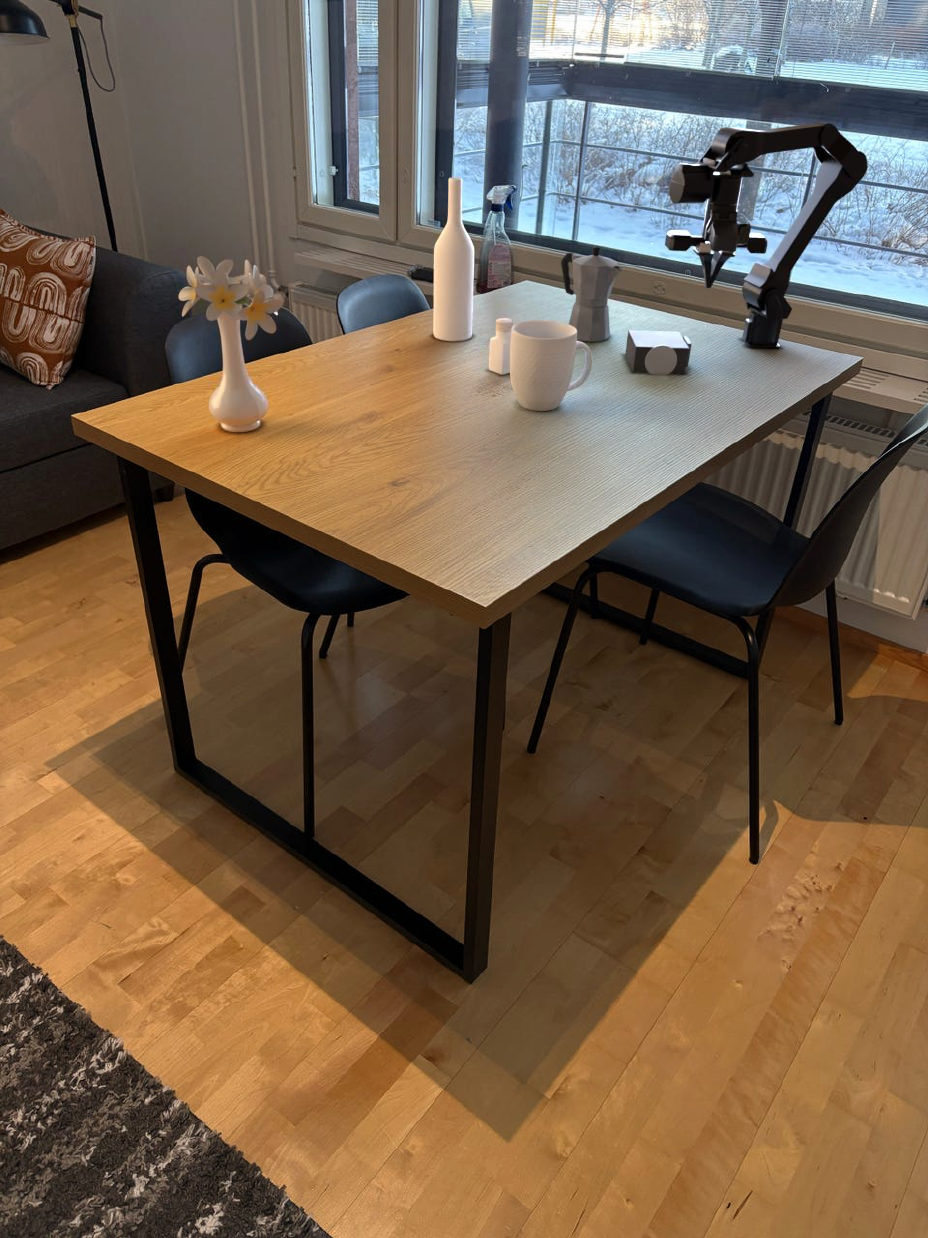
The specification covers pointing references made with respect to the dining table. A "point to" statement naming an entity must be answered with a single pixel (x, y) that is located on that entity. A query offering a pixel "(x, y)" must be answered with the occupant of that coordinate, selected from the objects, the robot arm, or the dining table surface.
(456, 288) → the bottle
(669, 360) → the tape case
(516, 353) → the mug
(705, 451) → the dining table surface
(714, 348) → the dining table surface
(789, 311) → the robot arm
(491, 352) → the pepper shaker
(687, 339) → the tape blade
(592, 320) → the coffeepot
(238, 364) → the flower vase
